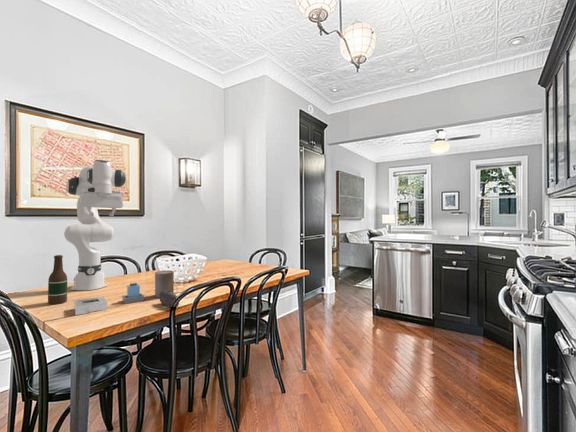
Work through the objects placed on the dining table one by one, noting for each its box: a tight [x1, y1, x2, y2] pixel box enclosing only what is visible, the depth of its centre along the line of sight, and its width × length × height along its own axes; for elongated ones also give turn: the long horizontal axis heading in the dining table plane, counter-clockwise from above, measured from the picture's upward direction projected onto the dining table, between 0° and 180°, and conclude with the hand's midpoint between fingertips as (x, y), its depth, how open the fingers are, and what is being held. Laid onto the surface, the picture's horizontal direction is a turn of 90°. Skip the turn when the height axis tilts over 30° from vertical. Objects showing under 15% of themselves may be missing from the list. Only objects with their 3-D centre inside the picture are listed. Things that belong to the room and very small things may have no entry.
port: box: [73, 296, 108, 316], centre depth 144 cm, size 12×12×4 cm
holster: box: [122, 293, 145, 305], centre depth 158 cm, size 7×9×3 cm
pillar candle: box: [154, 269, 175, 299], centre depth 170 cm, size 10×10×15 cm
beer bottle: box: [47, 254, 68, 306], centre depth 155 cm, size 8×8×24 cm
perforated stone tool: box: [158, 290, 180, 309], centre depth 151 cm, size 15×5×7 cm, turn 47°
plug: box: [126, 282, 141, 298], centre depth 158 cm, size 4×5×9 cm
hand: (101, 216), depth 162 cm, fingers open, 8 cm apart
